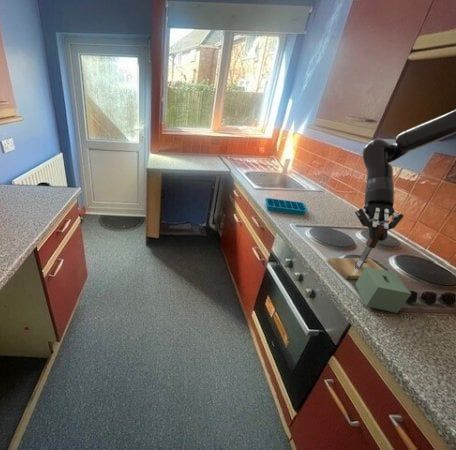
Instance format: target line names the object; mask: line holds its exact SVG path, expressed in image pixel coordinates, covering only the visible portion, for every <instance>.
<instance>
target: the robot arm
mask: <svg viewBox="0 0 456 450" xmlns="http://www.w3.org/2000/svg"><path fill="white" fill-rule="evenodd" d="M454 134H456V109H453V110H451V111H449V112H447V113H444V114H442V115H439V116H437V117H434V118H432V119H429V120H427V121H424V122H422V123H420V124H417V125H415V126H412V127H410V128H408V129H405V130H403V131H400V133H398V134H397V135H396V136H395V142H394V143H390V142H387V141H385V140H384V139H381V138H375V139H372V140H370V141H368V142H367V143H366V144H365V146H364V148H363V150H362V160H363V164H364V167H365V170H366V182H365V187H364V188H365V189H364V206H363V208H359V209H357V210H356V211H354V213H355V215H356V217H357V219H358V220H359V222H360V224H361V225H362V227H364V228H365V227H366V228H367V229H369V230H368V238H369V237H370V238H371V239H372V240H374V239H377V228H376V227H377V225H383V226H384V228H385V231H384V232H383V234H382V236H381V237H380V239H379V241H378V242H384V241H386V240H387V239H388V233H389V231H391V230H392V229H395V228H396V227H397V225H398V224H399V223H400V222H401V220H402V219H403V218H404V217H405V216H404V214H403V213H400V214H399V213H397V212H395V209H394V205H395V204H394V203H395V202H394V201H395V185H394V169H393V166H392V165H391V163H392V162H394V161H396V160H398V159H399V158H402V157H403V156H405V155H407V154H408V153H410V152H411V151H414V150H416V149H419V148H422V147H425V146H427V145H430V144H433V143H435V142H438V141H440V140H443V139H445V138H448V137H450V136H453V135H454ZM390 217H391V221H390Z"/></svg>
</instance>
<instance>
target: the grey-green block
mask: <svg viewBox="0 0 456 450" xmlns="http://www.w3.org/2000/svg"><path fill="white" fill-rule="evenodd" d="M354 286H355V288H356V290H357V291H358V293H359V295H360V297H361V299H362V300H363V303H364V304H365V307H368V308H372V309H377V310H382V311H386V312H391V313H395V314H398V313H399V312H400V310H401V309H402V307H403V306H404V305H405V304H406V302H407V301H408V300H409V298H410V296H411V295H412V292H411V290H409V289H408V287H407V286H406V284H405V283H404V282H403V281H402V280H401V278H400V277H399V276H398V274H397V273H396V272H395V271H392V270H386V269H384V270H381V269H376V268H370V267H365V268H364V269H363V271H362V273H361V275H360V277H359V278H358V279H356V282H355V284H354Z"/></svg>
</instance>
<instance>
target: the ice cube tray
mask: <svg viewBox="0 0 456 450" xmlns="http://www.w3.org/2000/svg"><path fill="white" fill-rule="evenodd" d="M264 201H265V208H266V210H267V211H268V212H275V213H281V214H290V215H296V216H305V214H306V213H307V212H309V209H308V207H307V206H306V204H305V202H302V201H295V200H288V199H287V200H286V199H280V198H279V199H278V198H272V197H271V198H270V197H265V199H264Z"/></svg>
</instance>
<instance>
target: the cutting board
mask: <svg viewBox="0 0 456 450" xmlns="http://www.w3.org/2000/svg"><path fill="white" fill-rule="evenodd" d="M359 258H360V257H348V258H347V257H329V258H328V261H327V262H328V263H329V264H330V265H331V266H332V267H333V268H334V269H335V270H336V271H337V272H338V273H339V274H340V275H341V276H342V277H343V278H345V280H358V278H359V277H360V275H361V273H362V271H363V270H362V269H364V268H365V267H370V268H376V269H381V270H385V269H384V268H383V267H382V266H380V265H379V264H377V263H376V261H374V260H373V259H371V258H370V257H367V258H366V260H365V261H367V263H364V264H363V265H362V267H361V269H360V268H359V270H358V269H357V268H356V269H355V262H357V261H358V260H359Z"/></svg>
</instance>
